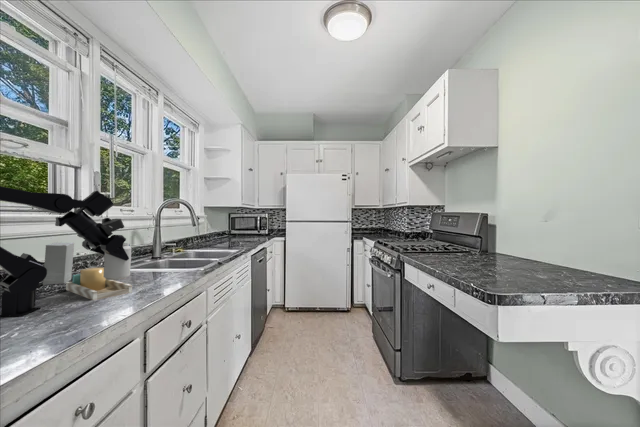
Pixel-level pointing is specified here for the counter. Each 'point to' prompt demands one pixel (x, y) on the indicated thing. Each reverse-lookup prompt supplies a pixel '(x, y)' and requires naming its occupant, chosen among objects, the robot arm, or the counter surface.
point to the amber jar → (92, 278)
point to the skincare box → (58, 263)
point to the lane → (110, 290)
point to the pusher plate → (76, 279)
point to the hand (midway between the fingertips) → (122, 258)
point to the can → (117, 265)
